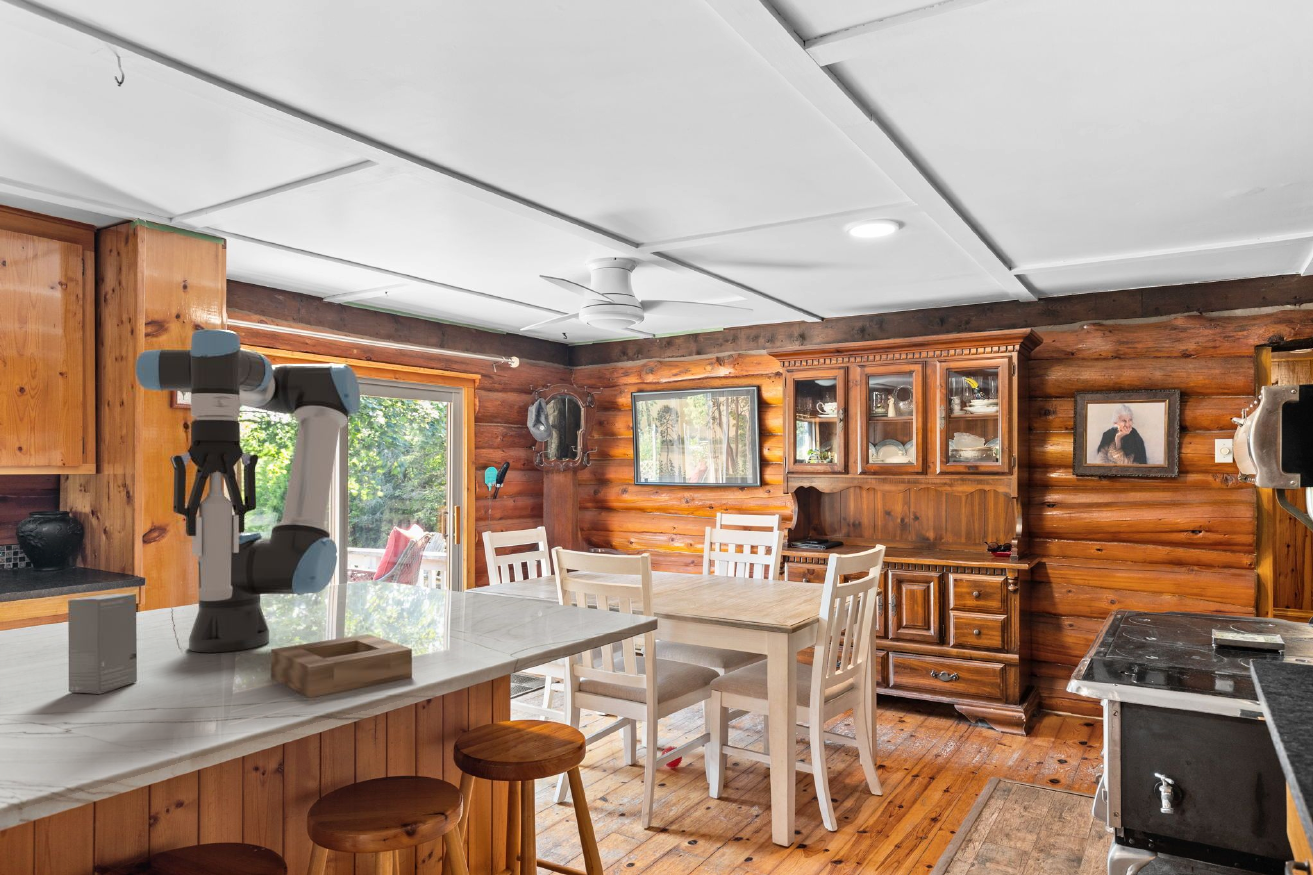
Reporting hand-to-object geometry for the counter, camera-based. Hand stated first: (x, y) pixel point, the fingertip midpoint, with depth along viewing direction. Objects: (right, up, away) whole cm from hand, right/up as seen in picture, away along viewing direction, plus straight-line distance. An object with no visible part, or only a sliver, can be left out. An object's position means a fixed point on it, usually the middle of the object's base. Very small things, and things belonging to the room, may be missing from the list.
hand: (215, 553), depth 144 cm
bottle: (0, -8, 0) cm, 8 cm away
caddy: (+20, -23, +4) cm, 31 cm away
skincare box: (-19, -23, -1) cm, 30 cm away
